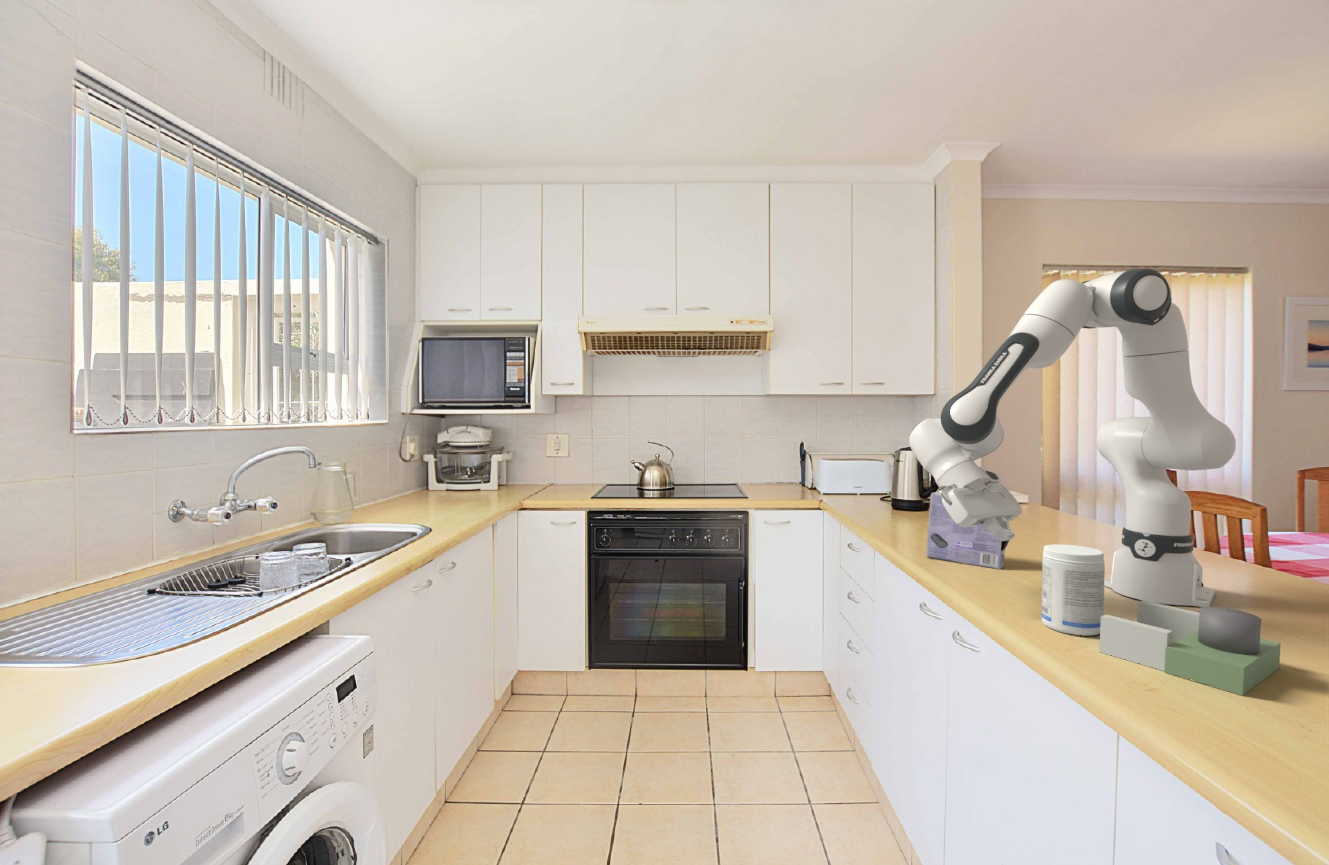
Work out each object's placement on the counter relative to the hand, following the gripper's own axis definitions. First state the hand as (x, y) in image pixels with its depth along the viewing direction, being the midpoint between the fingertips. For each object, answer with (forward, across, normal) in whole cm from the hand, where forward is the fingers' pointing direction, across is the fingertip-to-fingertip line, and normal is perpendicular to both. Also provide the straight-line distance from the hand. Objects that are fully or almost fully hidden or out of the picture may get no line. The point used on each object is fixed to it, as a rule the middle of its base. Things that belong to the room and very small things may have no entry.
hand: (1009, 539), depth 123 cm
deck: (+30, 0, -10) cm, 32 cm away
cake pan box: (-9, +31, +29) cm, 43 cm away
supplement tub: (+19, 0, +2) cm, 19 cm away
